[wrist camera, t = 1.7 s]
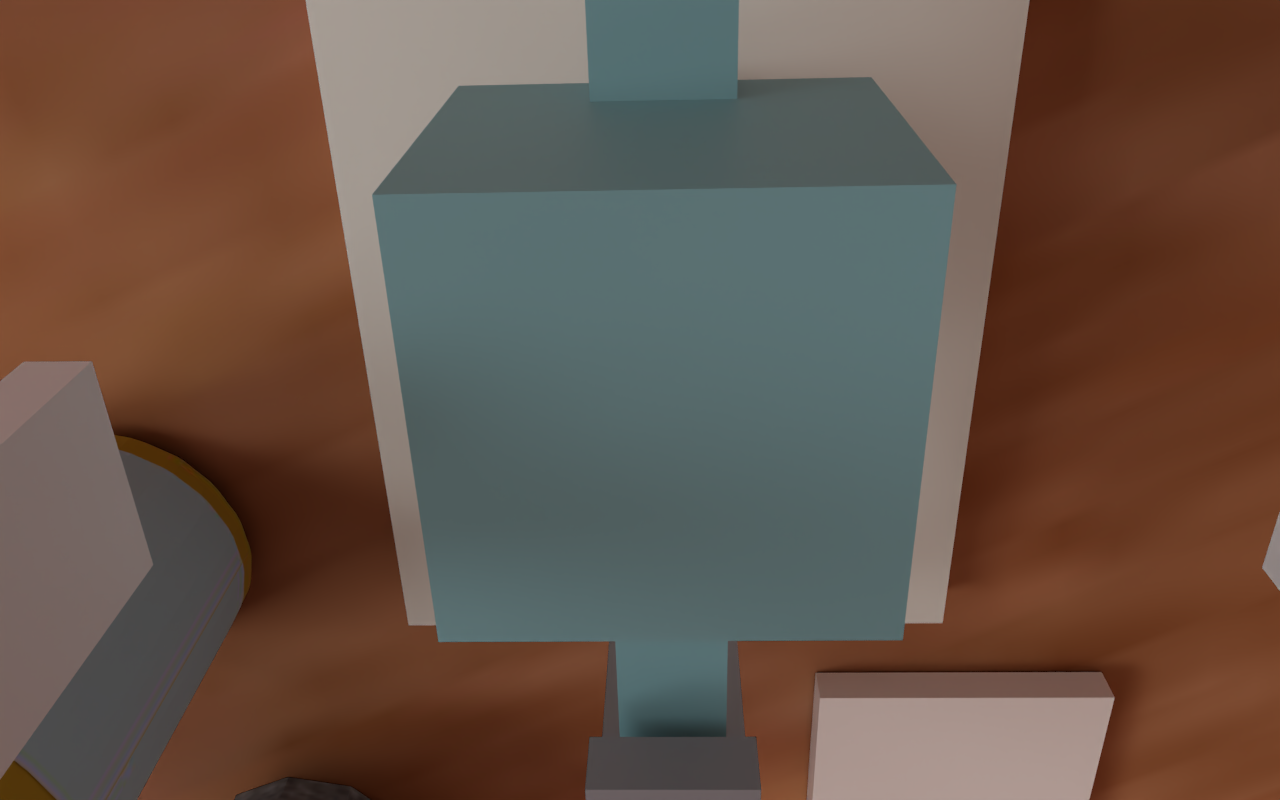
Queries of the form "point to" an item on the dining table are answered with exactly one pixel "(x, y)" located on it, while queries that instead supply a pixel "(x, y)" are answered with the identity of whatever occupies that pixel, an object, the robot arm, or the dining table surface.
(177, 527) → the bottle
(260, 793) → the mortar and pestle
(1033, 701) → the tile
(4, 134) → the dining table surface
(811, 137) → the teal cube with tabs
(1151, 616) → the dining table surface
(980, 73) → the white and grey stand
